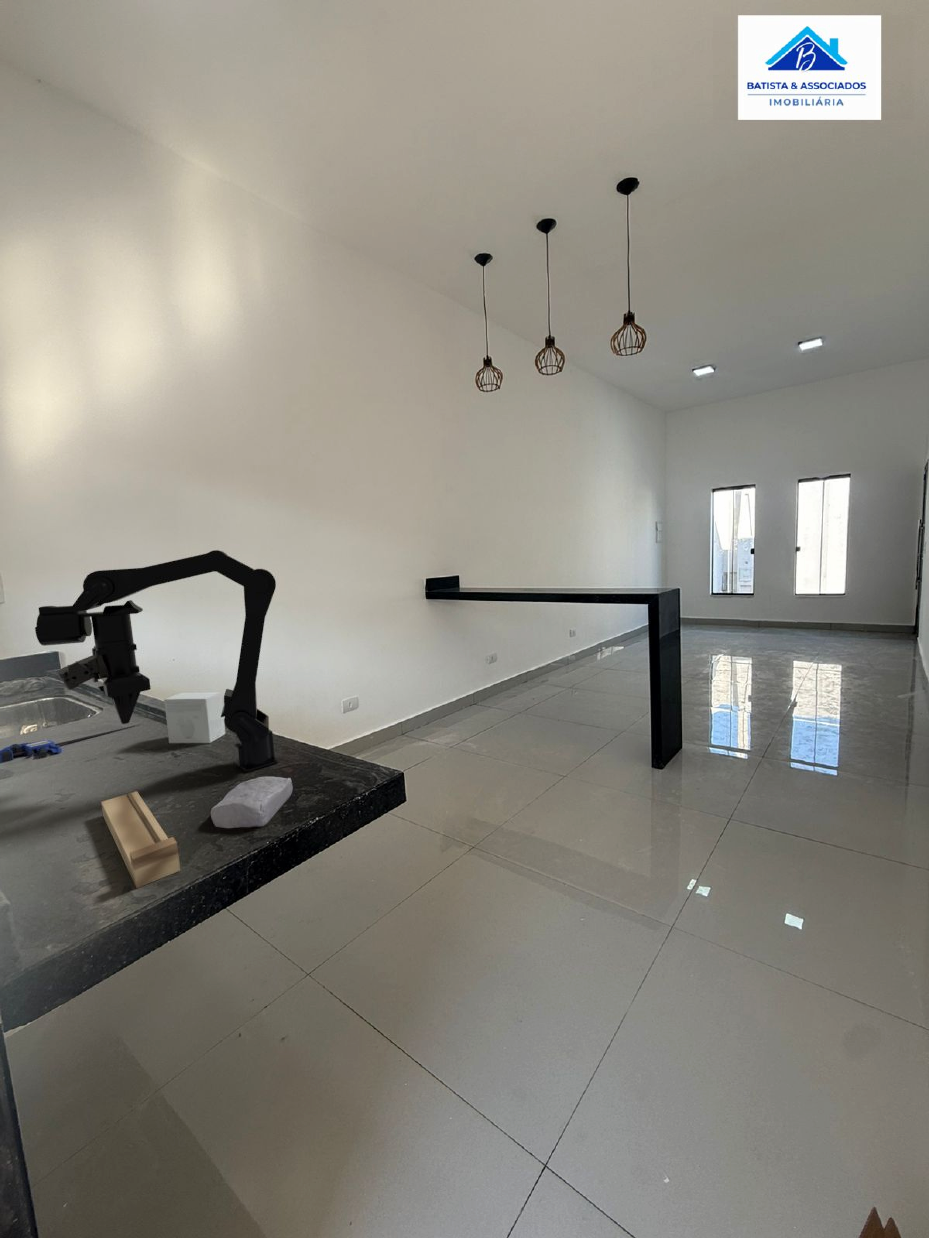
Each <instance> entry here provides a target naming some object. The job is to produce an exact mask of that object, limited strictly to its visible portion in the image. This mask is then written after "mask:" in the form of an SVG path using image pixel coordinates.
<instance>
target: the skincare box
mask: <svg viewBox="0 0 929 1238" xmlns="http://www.w3.org/2000/svg"><path fill="white" fill-rule="evenodd" d="M222 698H223V697H222V692H180V693H178V694H175V695H172V696H168V697H167V698H164V699H163V701H164V711H165V717H166V718H165V719H166V727H167V734H168V735H167V736H168V744H211V743H213V742H214V741H216V740H218V739H219V738H221V737H223V736H225V735H226V726H225V723H224V718H225V716H224V717H221V714H222V710H223V707H224V704H223V699H222Z"/></svg>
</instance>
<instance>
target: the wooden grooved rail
mask: <svg viewBox="0 0 929 1238" xmlns="http://www.w3.org/2000/svg"><path fill="white" fill-rule="evenodd" d="M100 804H101V809H102V816H103V818H104V821H105V823H106V825H107V827H108V831H110V834H111V837H113V840H114V843H115V844H116V846H117V849H118V851H119V853H120V855H121V858H122V859H123V861H124V864H125V866H126V868H127V871H128V872H129V875H130V877H131V879H132V881H133V883H134V886H135V887H136V889H139V888H141V887H143V886H147V885H148V884H151V883H154V882H155V881H158V880H160V879H163V878H165V877H168V876H170V875H173V874H175V873H177V872H180V871H181V865H180V864H181V863H180V857H179V849H178V842H177V841H176V839H175V838H174V836H171V837H168V836H167V833H165V831H164V830H163V828H162V827H161V825H160V824H159V822H158V820H157V819H156V818H155V816H154V815H153V813H152V811H151V810H150V808H149V807H148V806H147V804H146V803H145V801H144V800H143V798H142V797H141V795H140V794H139V792H138V791H132V792H129V793H127V794H123V795H119V796H116V797H113V798H108V799H106V800H103V801H101V803H100Z"/></svg>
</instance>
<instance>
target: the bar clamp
mask: <svg viewBox="0 0 929 1238" xmlns="http://www.w3.org/2000/svg"><path fill="white" fill-rule="evenodd" d="M137 726H141V723H140V724H136V725H131V726H127V727H122V728H119V729H113V730H109V731H106V732H101V733H96V734H93V735H88V736H83V737H80V738H75V739H72V740H70V739H69V740H67V741H62V742H57V743H55V741H53V740H49V739H45V740H39V741H38V740H37V741H33V742H26V743H25V742H24V743H14V744H11V745H9V746H7V747H4V748H3V749H1V750H0V763H1V764H3V763H8V762H11V761H13V760H14V757H15V756H16V758H18V757H22V755H23V754H25V755H26V756H28V757H32V756H36V755H38V756H39V757H38V758H39V759H42V758H47V757H48V756H49V753H48V752H50V751H51V753H52V754H55V753H57V754H58V755H60V754H62V752H63V751H62V747H60V746H61V745H62V746H63V745H66V744H71V743H75V742H79V741H83V740H87V739H92V738H96V737H101V736H105V735H109V734H113V733H116V732H117V733H118V732H121V731H124V730H129V729H131V728H132V729H133V728H135V727H137ZM35 751H36V752H35Z"/></svg>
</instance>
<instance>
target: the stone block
mask: <svg viewBox="0 0 929 1238" xmlns="http://www.w3.org/2000/svg"><path fill="white" fill-rule="evenodd" d="M293 790H294V788H293V783H292V779H291V777H287V778H285V777H280V776H259V777H256V778H252V779H249V780H247V781H243V782H241V783H238V784H237V785H236V786H235V787H234V788H233V789H231V790H229V792H227V794H226V795H225V796H224V798H223V799H222V800H221V801H219V802H218V803H217V804H216V805H214V806H213V807H212V808H211V811H210V816H211V818H210V819H211V820H212V823H213V825H214V826H215V827H216V828H222V829H223V828H224V829H234V828H253V827H254V828H255V827H259V828H260V827H265V825H267V824H268V823H269V822H270V821H271V820H272V818H273V817H274V816H275V815H276V814H277V812H278V811H279V810H280V809H281V808H282V806H283V805H284V804H285V803H286V802H287V801H288V800H289V798H291V795H293V794H292V793H293Z"/></svg>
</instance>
